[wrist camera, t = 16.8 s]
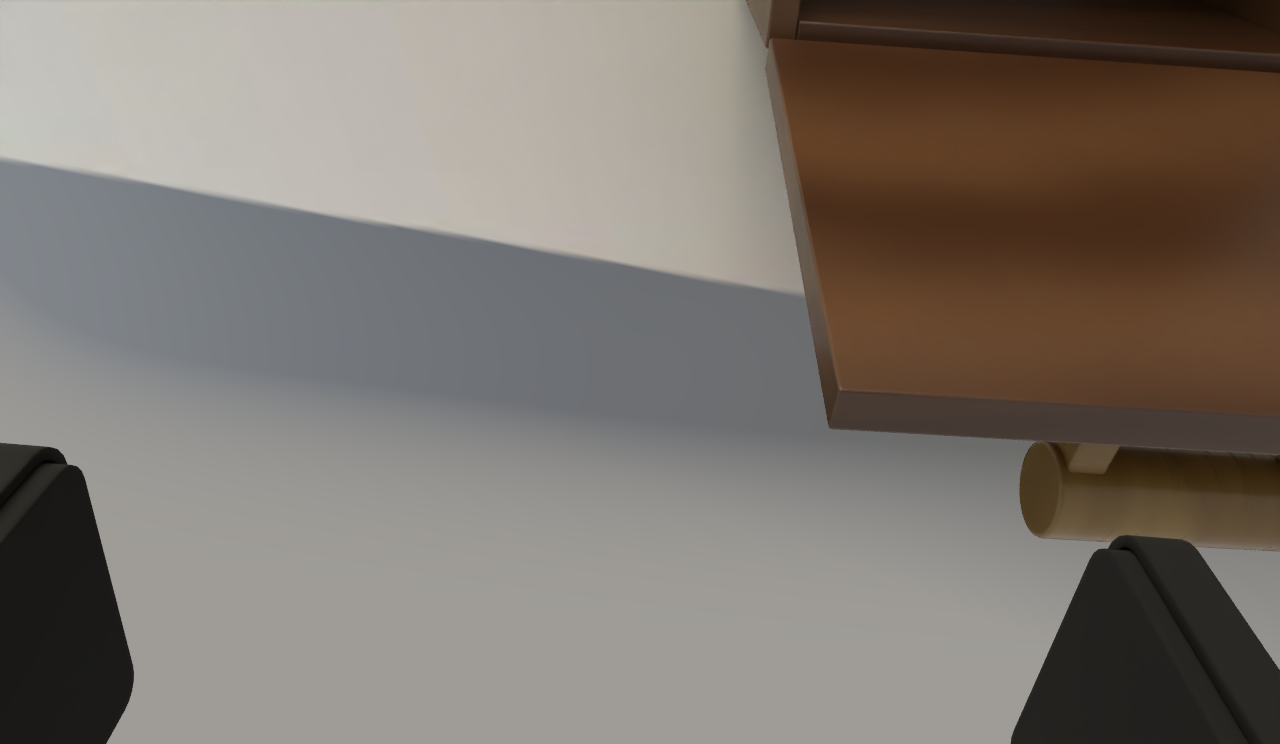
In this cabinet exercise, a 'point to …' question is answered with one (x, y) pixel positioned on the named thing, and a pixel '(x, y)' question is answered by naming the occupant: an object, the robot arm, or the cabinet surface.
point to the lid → (1049, 272)
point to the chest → (1045, 28)
